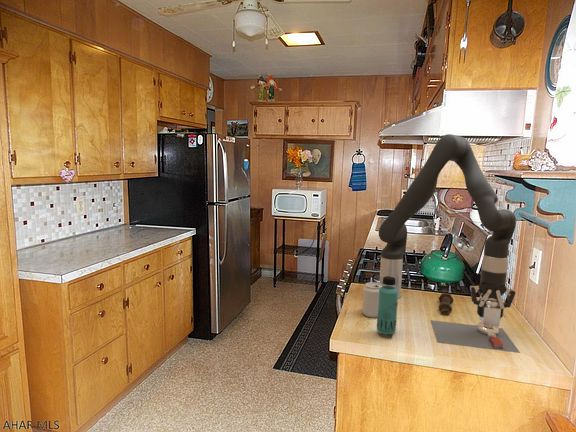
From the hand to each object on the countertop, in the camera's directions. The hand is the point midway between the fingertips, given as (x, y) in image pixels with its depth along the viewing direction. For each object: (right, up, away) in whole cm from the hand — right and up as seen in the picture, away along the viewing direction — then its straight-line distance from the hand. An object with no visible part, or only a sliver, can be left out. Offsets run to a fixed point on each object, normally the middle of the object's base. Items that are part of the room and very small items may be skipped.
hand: (489, 316), depth 129 cm
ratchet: (-1, -6, -3) cm, 7 cm away
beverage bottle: (-36, -6, -1) cm, 36 cm away
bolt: (-6, -4, +22) cm, 23 cm away
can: (-37, -4, +16) cm, 40 cm away
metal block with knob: (0, -2, 0) cm, 2 cm away
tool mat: (-7, -6, -2) cm, 10 cm away
